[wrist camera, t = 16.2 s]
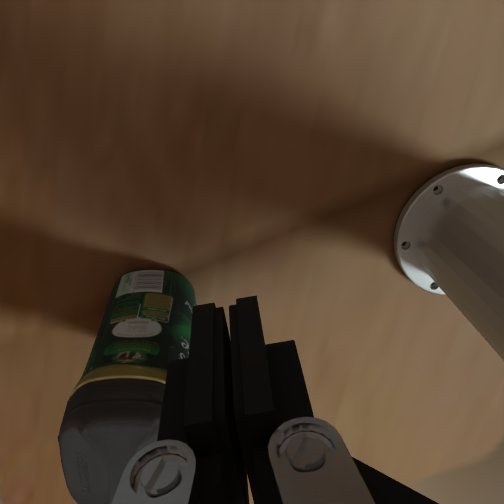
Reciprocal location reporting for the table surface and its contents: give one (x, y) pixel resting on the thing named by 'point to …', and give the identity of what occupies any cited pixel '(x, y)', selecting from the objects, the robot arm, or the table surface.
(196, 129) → the table surface
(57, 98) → the table surface
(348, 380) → the table surface
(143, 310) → the coffee jar
